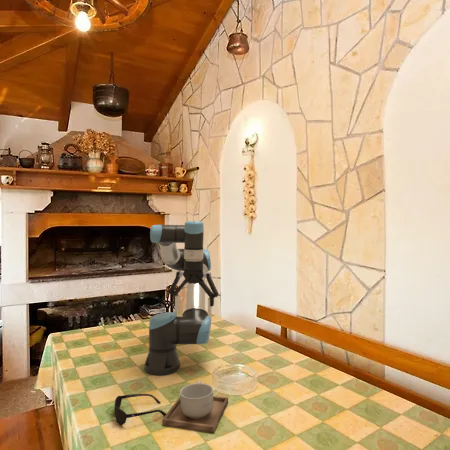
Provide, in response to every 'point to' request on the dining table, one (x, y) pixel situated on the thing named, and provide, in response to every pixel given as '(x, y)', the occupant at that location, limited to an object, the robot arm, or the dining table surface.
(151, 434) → the dining table surface
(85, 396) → the dining table surface
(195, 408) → the teacup
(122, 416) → the sunglasses
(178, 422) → the tray
